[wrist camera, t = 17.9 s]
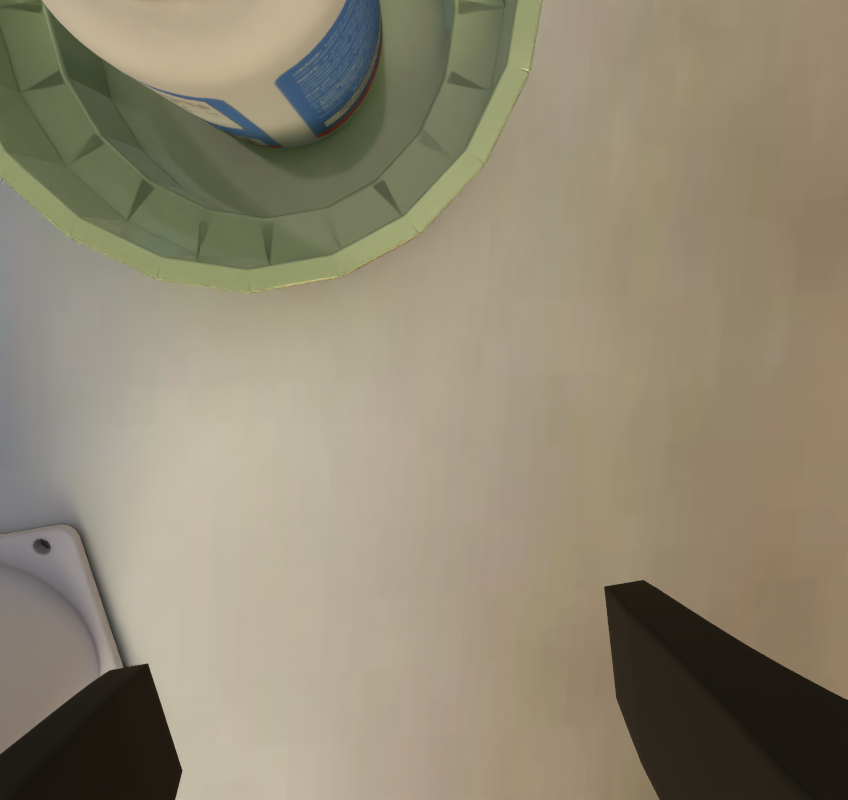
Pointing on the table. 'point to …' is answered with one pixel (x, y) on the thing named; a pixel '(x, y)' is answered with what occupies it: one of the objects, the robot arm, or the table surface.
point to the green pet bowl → (258, 150)
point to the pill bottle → (241, 59)
